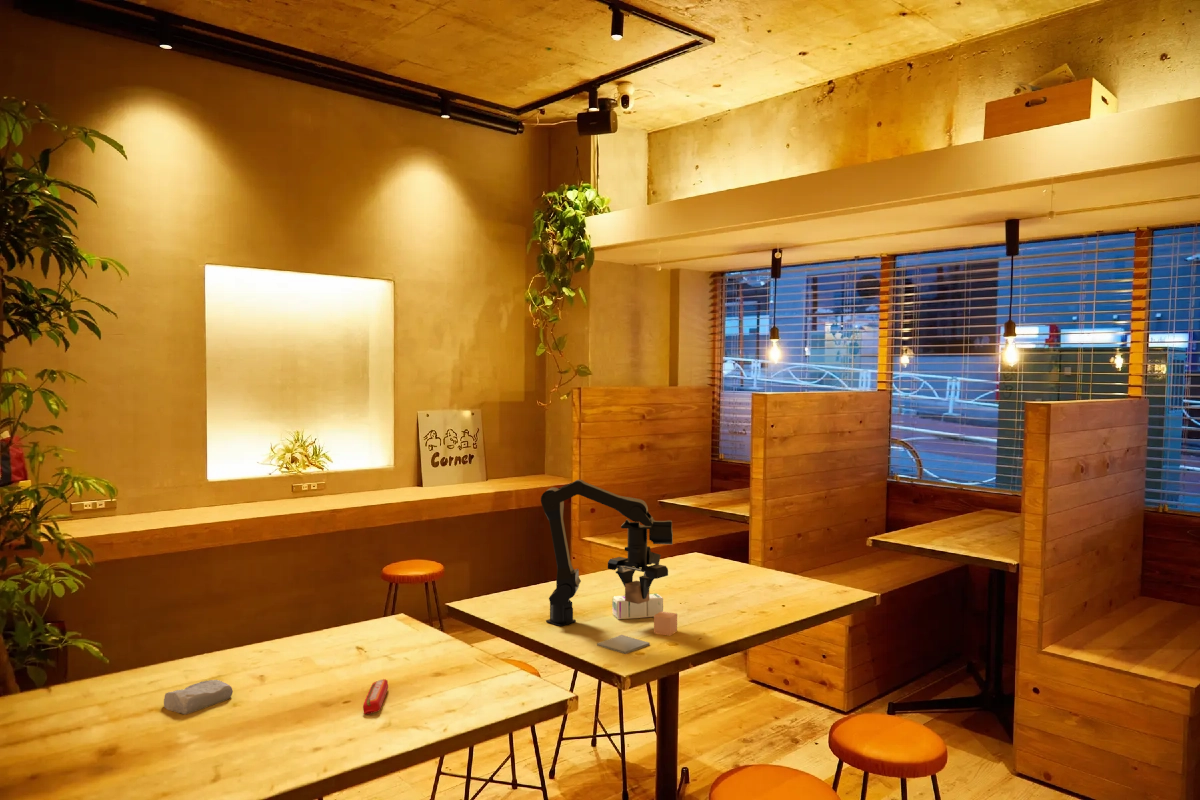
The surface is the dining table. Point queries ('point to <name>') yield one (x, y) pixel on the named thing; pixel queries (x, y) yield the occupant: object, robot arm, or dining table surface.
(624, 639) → the coaster
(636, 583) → the walnut cube
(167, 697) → the stone block
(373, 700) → the candy bar
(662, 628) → the terracotta cube
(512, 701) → the dining table surface
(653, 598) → the syrup box
